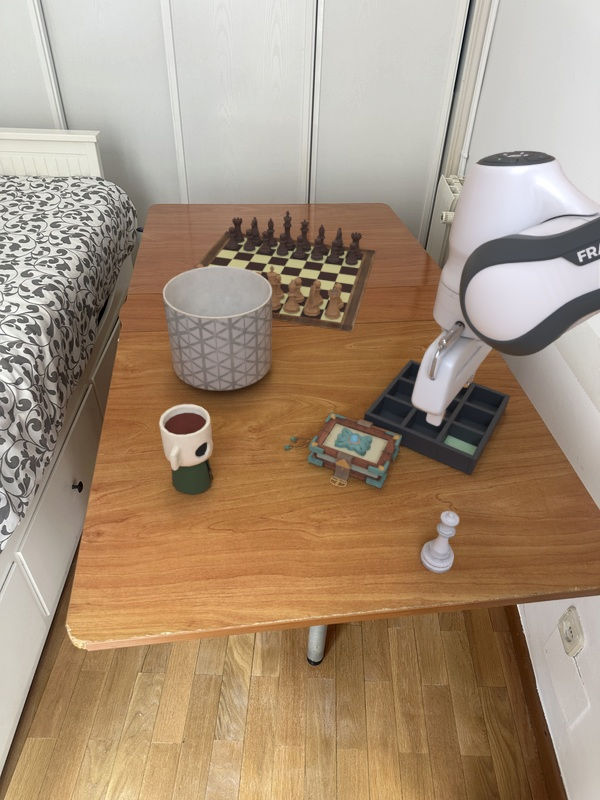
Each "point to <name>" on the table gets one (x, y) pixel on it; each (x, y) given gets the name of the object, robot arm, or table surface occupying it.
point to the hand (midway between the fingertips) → (449, 401)
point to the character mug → (188, 446)
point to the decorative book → (353, 449)
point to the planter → (219, 326)
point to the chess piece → (440, 545)
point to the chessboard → (300, 272)
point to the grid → (457, 433)
